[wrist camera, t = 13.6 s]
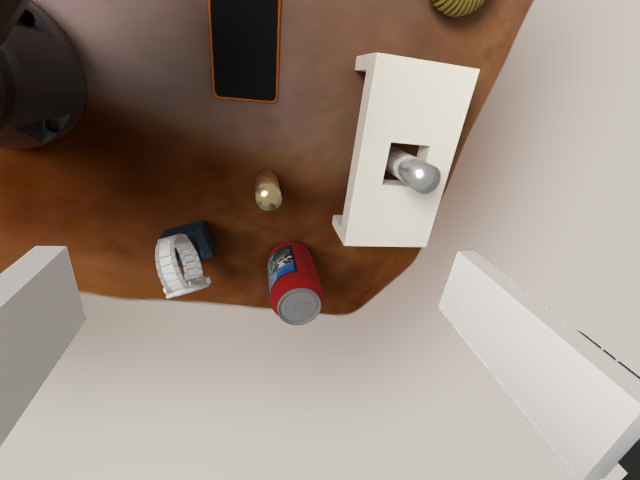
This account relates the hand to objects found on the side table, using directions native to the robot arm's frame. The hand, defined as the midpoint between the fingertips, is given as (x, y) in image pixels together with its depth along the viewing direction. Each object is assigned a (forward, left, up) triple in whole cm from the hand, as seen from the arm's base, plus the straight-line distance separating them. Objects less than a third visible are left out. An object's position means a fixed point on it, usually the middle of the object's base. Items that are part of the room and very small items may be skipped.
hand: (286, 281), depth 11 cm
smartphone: (-2, +12, -33) cm, 35 cm away
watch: (-9, -15, -33) cm, 37 cm away
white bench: (+17, -1, -33) cm, 37 cm away
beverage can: (+5, -18, -33) cm, 38 cm away
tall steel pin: (+17, -1, -33) cm, 37 cm away
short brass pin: (+1, -6, -33) cm, 33 cm away
